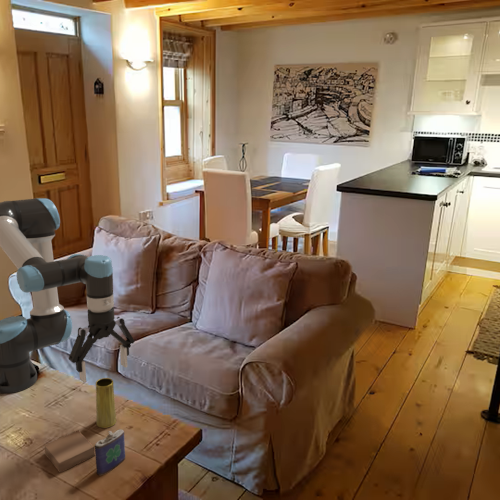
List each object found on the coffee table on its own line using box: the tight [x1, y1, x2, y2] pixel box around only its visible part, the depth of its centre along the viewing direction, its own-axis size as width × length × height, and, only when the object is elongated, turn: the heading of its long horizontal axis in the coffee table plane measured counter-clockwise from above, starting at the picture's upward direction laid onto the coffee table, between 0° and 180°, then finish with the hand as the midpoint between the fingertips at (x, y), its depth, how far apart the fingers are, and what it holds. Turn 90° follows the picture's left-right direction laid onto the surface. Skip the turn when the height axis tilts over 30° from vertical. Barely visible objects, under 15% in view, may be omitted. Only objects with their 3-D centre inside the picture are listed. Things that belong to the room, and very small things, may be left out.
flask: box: [94, 429, 126, 476], centre depth 130 cm, size 9×3×11 cm, turn 144°
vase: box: [95, 377, 117, 429], centre depth 148 cm, size 6×6×14 cm
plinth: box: [43, 430, 96, 473], centre depth 134 cm, size 10×10×3 cm
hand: (104, 372), depth 145 cm, fingers open, 13 cm apart
